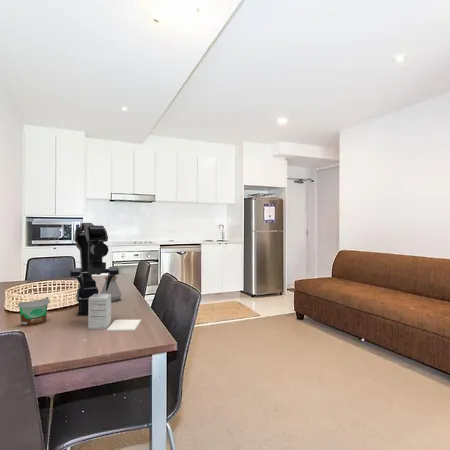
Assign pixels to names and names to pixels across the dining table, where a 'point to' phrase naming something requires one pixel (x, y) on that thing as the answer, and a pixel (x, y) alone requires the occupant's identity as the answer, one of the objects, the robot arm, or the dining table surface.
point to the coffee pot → (112, 289)
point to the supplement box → (99, 311)
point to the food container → (33, 312)
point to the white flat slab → (124, 325)
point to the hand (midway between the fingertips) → (95, 291)
